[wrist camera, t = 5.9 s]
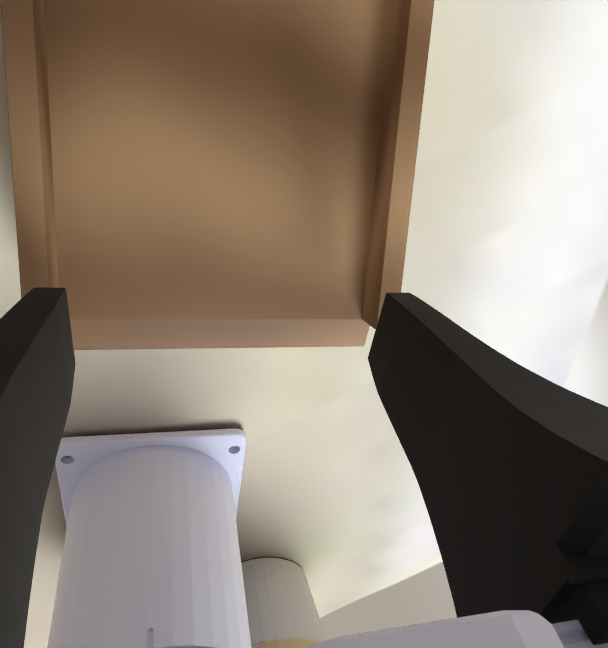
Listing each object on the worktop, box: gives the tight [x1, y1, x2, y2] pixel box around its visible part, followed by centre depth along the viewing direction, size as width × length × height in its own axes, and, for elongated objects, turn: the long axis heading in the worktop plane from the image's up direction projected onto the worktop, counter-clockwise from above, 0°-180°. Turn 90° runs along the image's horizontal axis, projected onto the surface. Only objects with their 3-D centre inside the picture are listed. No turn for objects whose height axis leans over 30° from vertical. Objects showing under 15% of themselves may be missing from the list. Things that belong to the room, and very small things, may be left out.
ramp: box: [0, 0, 434, 350], centre depth 14 cm, size 14×10×7 cm
